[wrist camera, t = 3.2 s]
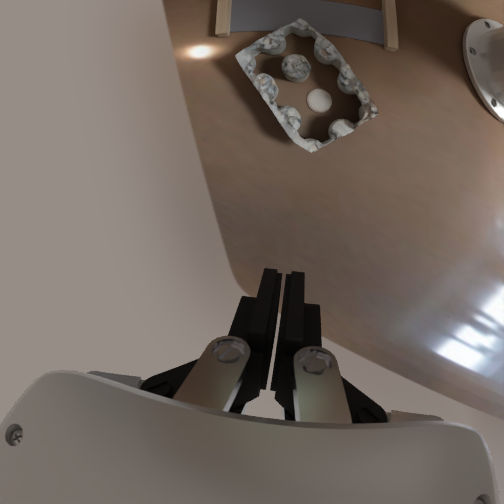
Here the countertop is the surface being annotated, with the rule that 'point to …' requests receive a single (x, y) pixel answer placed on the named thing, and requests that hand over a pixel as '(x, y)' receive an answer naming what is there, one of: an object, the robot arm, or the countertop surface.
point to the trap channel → (387, 9)
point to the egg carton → (298, 71)
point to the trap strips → (309, 17)
